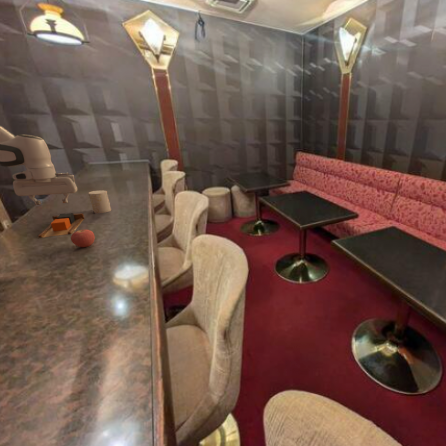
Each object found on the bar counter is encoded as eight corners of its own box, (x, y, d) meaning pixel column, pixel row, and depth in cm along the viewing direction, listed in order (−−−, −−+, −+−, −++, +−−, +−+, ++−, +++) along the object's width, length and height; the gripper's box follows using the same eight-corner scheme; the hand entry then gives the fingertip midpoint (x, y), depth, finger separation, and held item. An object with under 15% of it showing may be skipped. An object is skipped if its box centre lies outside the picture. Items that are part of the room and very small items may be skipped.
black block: (58, 225, 122) (56, 217, 121) (62, 221, 127) (60, 214, 126) (71, 224, 124) (69, 216, 123) (75, 220, 129) (73, 213, 128)
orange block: (53, 231, 116) (50, 223, 114) (57, 226, 120) (55, 219, 119) (67, 229, 118) (64, 221, 116) (71, 225, 123) (68, 217, 121)
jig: (37, 239, 109) (34, 231, 108) (55, 222, 127) (52, 216, 126) (72, 235, 114) (70, 227, 113) (84, 219, 132) (82, 213, 131)
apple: (84, 251, 101) (78, 233, 98) (69, 249, 102) (63, 231, 99) (101, 243, 107) (96, 226, 105) (87, 241, 109) (82, 224, 106)
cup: (90, 213, 142) (84, 193, 138) (104, 209, 149) (98, 189, 145) (101, 214, 140) (96, 194, 136) (114, 210, 148) (110, 191, 143)
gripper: (74, 171, 116) (82, 199, 121) (13, 173, 107) (25, 203, 112) (70, 173, 111) (79, 203, 116) (6, 175, 102) (18, 207, 106)
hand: (52, 203), depth 114 cm, fingers open, 8 cm apart
